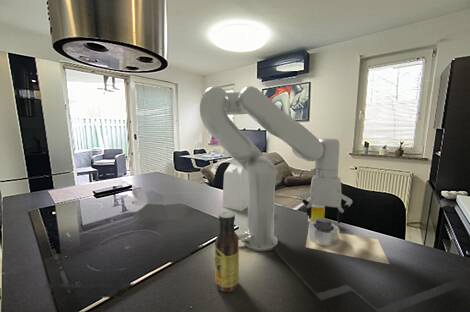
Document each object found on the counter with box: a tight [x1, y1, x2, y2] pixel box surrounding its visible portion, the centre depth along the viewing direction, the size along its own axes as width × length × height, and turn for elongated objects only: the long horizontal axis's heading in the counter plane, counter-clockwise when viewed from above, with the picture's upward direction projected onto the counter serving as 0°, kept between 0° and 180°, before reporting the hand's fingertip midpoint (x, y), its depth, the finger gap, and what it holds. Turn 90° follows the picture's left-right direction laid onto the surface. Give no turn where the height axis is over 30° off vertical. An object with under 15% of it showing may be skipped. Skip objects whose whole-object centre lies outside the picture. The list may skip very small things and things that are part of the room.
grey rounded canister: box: [316, 218, 332, 231], centre depth 77 cm, size 5×5×6 cm
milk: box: [222, 158, 248, 212], centre depth 116 cm, size 12×12×26 cm
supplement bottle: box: [307, 204, 326, 223], centre depth 92 cm, size 7×7×13 cm
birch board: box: [305, 229, 390, 265], centre depth 75 cm, size 24×16×1 cm, turn 67°
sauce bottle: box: [214, 211, 240, 293], centre depth 55 cm, size 6×6×20 cm
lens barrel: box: [307, 221, 340, 247], centre depth 77 cm, size 10×10×5 cm
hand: (324, 219), depth 77 cm, fingers open, 9 cm apart
